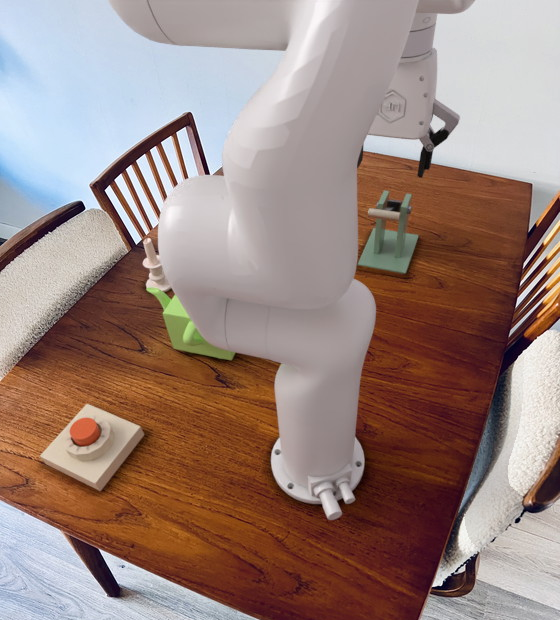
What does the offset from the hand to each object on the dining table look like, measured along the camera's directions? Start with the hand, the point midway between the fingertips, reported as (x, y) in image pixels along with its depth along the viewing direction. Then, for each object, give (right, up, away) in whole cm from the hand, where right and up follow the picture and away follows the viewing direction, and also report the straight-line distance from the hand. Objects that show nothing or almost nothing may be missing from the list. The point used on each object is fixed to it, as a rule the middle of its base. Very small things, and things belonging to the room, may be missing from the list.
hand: (389, 168), depth 77 cm
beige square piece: (-43, -42, -3) cm, 60 cm away
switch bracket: (+4, -8, +22) cm, 24 cm away
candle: (-39, -14, +20) cm, 46 cm away
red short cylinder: (-43, -39, -6) cm, 58 cm away
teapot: (-28, -25, +10) cm, 39 cm away
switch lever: (+2, -4, +11) cm, 12 cm away
